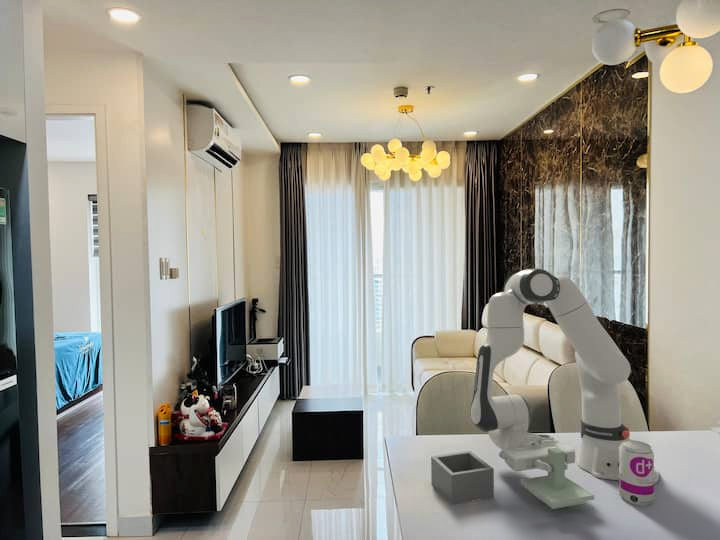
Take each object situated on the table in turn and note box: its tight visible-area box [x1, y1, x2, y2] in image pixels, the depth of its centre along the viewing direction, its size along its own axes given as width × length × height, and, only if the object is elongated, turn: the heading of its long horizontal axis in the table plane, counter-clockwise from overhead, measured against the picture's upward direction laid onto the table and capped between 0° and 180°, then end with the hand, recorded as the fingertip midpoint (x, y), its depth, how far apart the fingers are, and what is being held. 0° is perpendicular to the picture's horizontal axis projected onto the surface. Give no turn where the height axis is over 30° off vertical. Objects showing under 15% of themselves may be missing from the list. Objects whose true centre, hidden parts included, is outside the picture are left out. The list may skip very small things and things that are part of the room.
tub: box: [430, 450, 495, 505], centre depth 135 cm, size 13×13×8 cm
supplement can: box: [618, 439, 655, 507], centre depth 129 cm, size 8×8×15 cm
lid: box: [520, 448, 595, 510], centre depth 126 cm, size 13×13×13 cm
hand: (558, 468), depth 125 cm, fingers closed on lid, 3 cm apart
